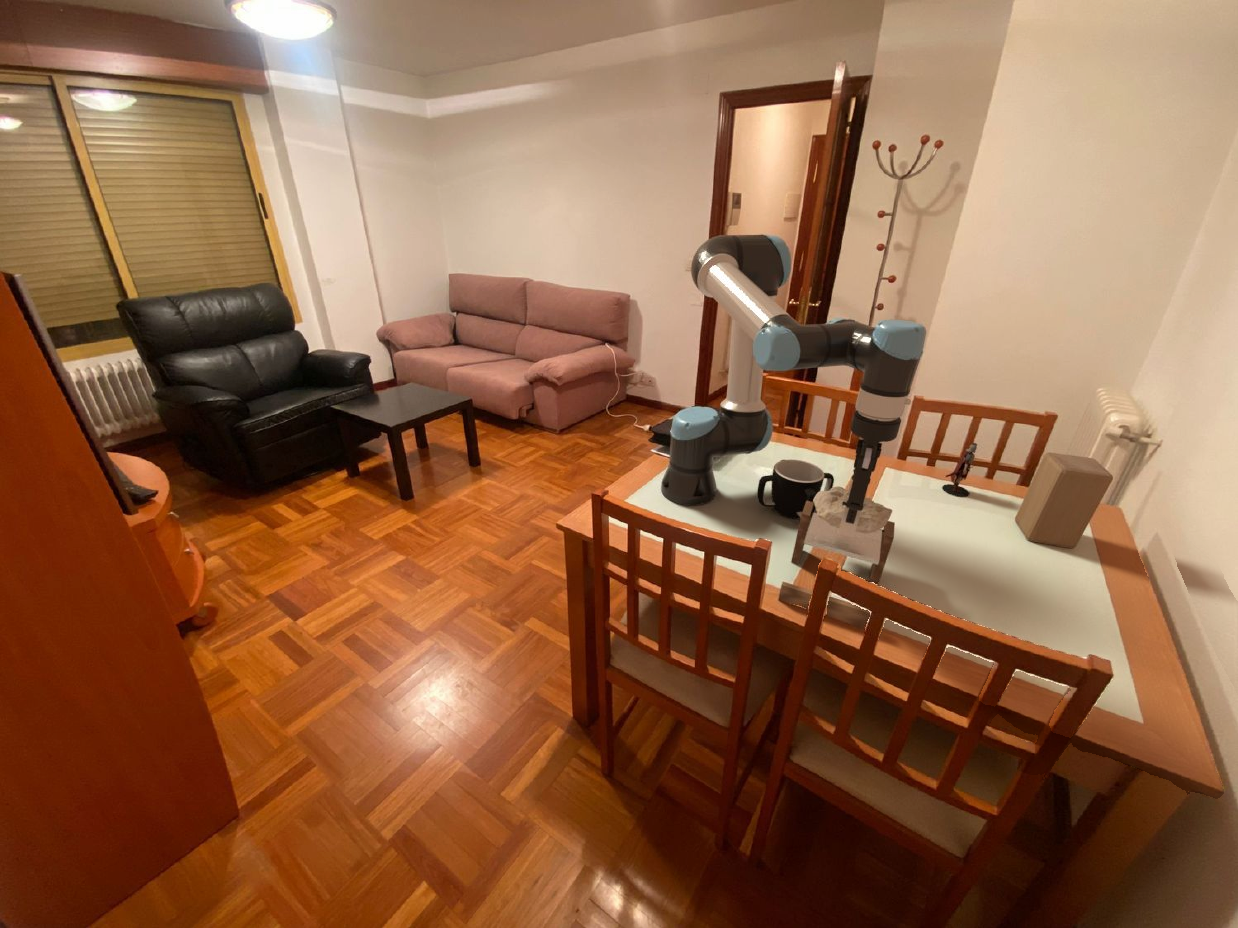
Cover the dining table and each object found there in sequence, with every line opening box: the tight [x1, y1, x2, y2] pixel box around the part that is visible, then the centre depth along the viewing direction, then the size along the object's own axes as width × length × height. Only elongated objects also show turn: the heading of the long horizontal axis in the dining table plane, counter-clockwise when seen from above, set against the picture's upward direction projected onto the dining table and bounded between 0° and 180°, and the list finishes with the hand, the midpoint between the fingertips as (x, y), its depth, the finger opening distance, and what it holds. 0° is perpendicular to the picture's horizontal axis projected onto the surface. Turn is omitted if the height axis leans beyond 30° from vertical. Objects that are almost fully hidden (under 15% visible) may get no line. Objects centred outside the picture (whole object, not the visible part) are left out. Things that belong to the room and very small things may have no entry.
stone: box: [813, 486, 893, 533], centre depth 96 cm, size 8×12×10 cm, turn 43°
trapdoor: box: [804, 509, 883, 565], centre depth 104 cm, size 13×19×3 cm
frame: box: [777, 501, 895, 630], centre depth 102 cm, size 18×20×13 cm
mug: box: [756, 459, 835, 521], centre depth 128 cm, size 16×16×12 cm
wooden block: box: [1014, 452, 1114, 549], centre depth 118 cm, size 10×10×20 cm
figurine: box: [941, 442, 978, 498], centre depth 137 cm, size 7×7×15 cm
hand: (848, 522), depth 97 cm, fingers closed on stone, 8 cm apart
